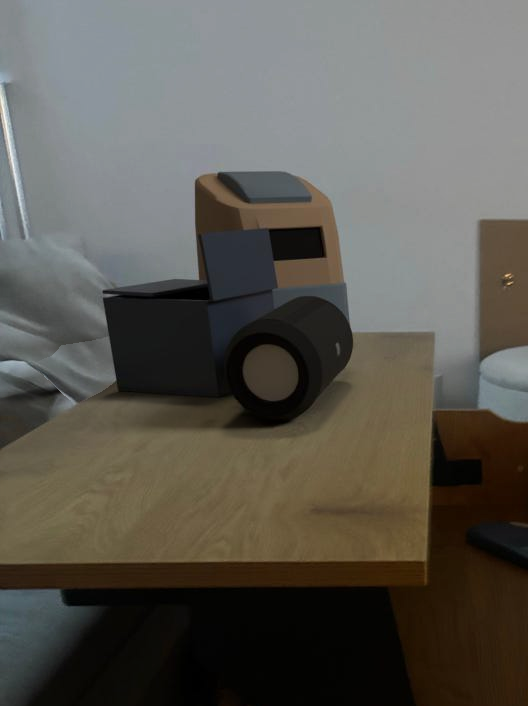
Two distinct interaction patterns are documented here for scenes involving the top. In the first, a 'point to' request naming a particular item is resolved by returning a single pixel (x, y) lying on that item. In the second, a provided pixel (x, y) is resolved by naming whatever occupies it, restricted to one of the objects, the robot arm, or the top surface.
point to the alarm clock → (278, 229)
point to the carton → (193, 319)
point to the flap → (158, 288)
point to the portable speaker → (288, 357)
